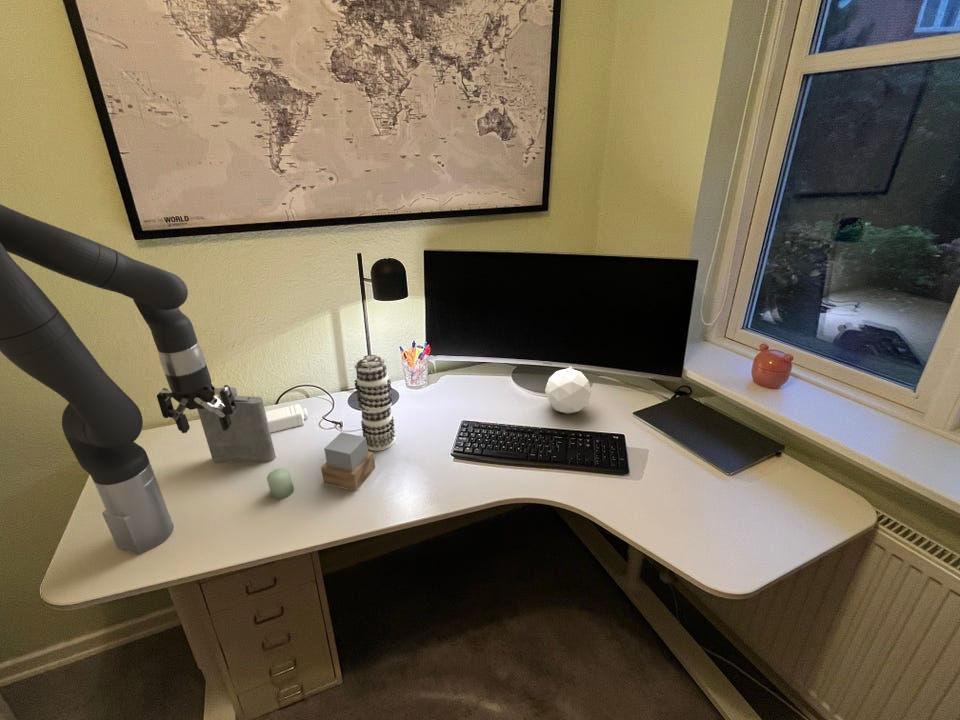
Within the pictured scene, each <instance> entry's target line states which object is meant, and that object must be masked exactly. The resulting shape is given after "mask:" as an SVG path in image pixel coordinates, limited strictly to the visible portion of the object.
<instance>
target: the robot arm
mask: <svg viewBox="0 0 960 720" xmlns="http://www.w3.org/2000/svg"><path fill="white" fill-rule="evenodd" d="M9 253H10V254H11V255H15V256H17V257H19V258H21V259H24V260H25V261H26V260H27V261H28V262H31V263H33V264H35V265H37V266H40V267H41V268H45V269H47V270H49V271H51V272H54V273H57V274H59V275H60V276H61V275H62V276H64V277H67V278H69V279H73V280H76V281H78V282H81V283H84V284H87V285H88V286H89V285H90V286H92V287H96V288H98V289H101V290H106V291H110V292H113V293H117V294H120V295H123V296H125V297H128V298H130V299H132V301H133V303H134V304H135V306H136V308H137V310H138V311H139V313H140V315H141V316H142V319H143V320H144V321H145V323H146V324H147V326H148V328H149V330H150V332H151V336H152V339H153V342H154V343H155V346H156V350H157V353H158V357H159V358H158V359H159V362H160V365H161V367H162V371H163V373H164V376H165V378H166V381H167V384H168V387H169V389H170V390H169V389H168V388H165V387H163V388H162V389H161V390H160V391H159V393H158V394H157V395H156V399H157V401H158V405H159V408H160V412H161V415H162V417H163V418H165V419H168V418H172V420H174V421H175V424H176V426H177V429H178V431H180V432H181V433H182V434H187V433H188V431H189V430H190V424H189V421H188V419H187V415H186V414H185V413H184V412H185V411H186V409H188V410H189V411H190V410H197V409H205V408H206V409H208V410H209V411H210V412H214V413H216V414H217V415H218V416H220V417H219V420H220V423H221V426H222V429H223V431H227V430H228V428H229V427H230V426H231V423H232V422H231V419H230V416H229V414H232V413H233V412H234V410H235V409H236V407H237V405H236V403H235V400H234V397H233V395H232V392H231V389H230V386H229V385H228V384H224V385H223V387H215V386H214V385H213V384H212V378H211V375H210V370H209V369H208V364H207V362H206V357H205V356H204V353H203V350H202V347H201V346H200V344H199V341H198V338H197V335H196V332H195V328H194V326H193V324H192V321H191V319H190V318H189V317H188V316H187V315H186V314H184V313H183V312H182V311H181V309H180V307H181V306H182V305H184V304H185V303H186V301H187V299H188V297H189V296H188V295H189V291H188V286H187V284H186V282H185V281H184V280H183V279H182V278H181V277H180V276H178V275H177V274H175V273H172V272H170V271H168V270H165V269H162V268H159V267H157V266H154V265H152V264H148V263H146V262H143V261H140V260H137V259H134V258H132V257H130V256H127V255H126V254H124V253H122V252H121V251H118V250H115V249H114V248H111V247H109V246H106V245H104V244H102V243H99V242H97V241H94V240H92V239H90V238H88V237H84V236H82V235H79V234H77V233H74V232H71V231H69V230H66V229H63V228H61V227H57V226H55V225H53V224H50V223H47V222H44V221H41V220H39V219H36V218H33V217H32V216H29V215H26V214H24V213H21V212H19V211H17V210H15V209H12V208H10V207H8V206H5V205H3V204H1V203H0V352H1V354H2V355H4V356H5V357H6V359H8V360H9V361H10V362H11V363H12V364H13V365H14V366H16V367H17V368H18V369H20V370H21V371H23V372H24V373H26V374H27V375H29V376H30V377H32V378H33V379H34V380H36V381H38V382H39V383H41V384H43V385H44V386H46V387H47V388H49V389H51V391H53V392H55V393H57V394H58V395H60V396H61V398H63V399H64V400H65V401H66V402H68V404H67V405H66V407H65V408H64V410H63V412H62V416H61V428H62V431H63V435H64V436H65V439H66V441H67V443H68V446H70V449H71V450H72V453H73V454H74V457H75V458H76V460H77V462H78V464H79V465H80V467H81V468H82V469H83V470H84V471H85V472H87V473H88V475H89V476H90V478H91V479H92V482H93V483H94V485H95V488H96V490H97V492H98V495H99V497H100V499H101V502H102V505H103V506H104V508H105V510H103V511H102V513H101V515H102V516H103V519H104V521H105V523H106V525H107V527H108V529H109V532H110V534H111V537H112V539H113V541H114V544H115V545H116V547H117V548H118V549H120V550H123V551H125V552H126V551H127V552H129V553H132V554H135V555H142V553H143V552H146V551H147V550H150V549H153V548H154V547H156V546H158V545H160V544H162V543H163V542H165V540H166V539H168V538H169V537H170V536H171V535H172V533H173V530H174V523H173V520H172V517H171V515H170V512H169V509H168V507H167V504H166V502H165V500H164V496H163V494H162V491H161V489H160V486H159V483H158V481H157V478H156V475H155V472H154V470H153V467H152V464H151V462H150V459H149V456H148V453H147V451H146V450H145V448H143V447H142V446H141V445H139V444H138V443H137V442H135V441H136V440H137V439H138V438H139V437H140V434H141V433H142V429H143V424H144V422H143V415H142V412H141V410H140V408H139V406H138V405H137V404H136V403H135V402H134V400H132V398H131V397H130V396H129V395H128V394H127V393H126V392H125V391H124V390H123V389H122V388H121V387H120V385H118V384H117V383H116V382H115V381H114V380H113V379H112V378H111V377H110V375H108V373H107V372H106V371H105V370H104V368H103V367H102V366H101V365H100V363H98V361H97V359H96V358H95V357H94V356H93V354H92V353H91V352H90V350H89V349H88V347H86V345H85V344H84V342H83V341H82V340H81V339H80V338H79V336H78V335H77V334H76V332H75V331H74V329H73V328H72V326H71V324H70V323H69V322H68V320H67V319H66V318H65V317H64V316H63V314H62V313H61V311H60V310H59V309H58V308H57V307H56V304H55V303H53V302H52V300H51V299H50V298H49V297H48V296H47V295H46V293H45V292H44V291H43V290H42V288H40V287H39V285H37V283H36V282H35V281H34V280H33V278H31V276H29V275H28V273H27V272H25V271H24V269H23V268H21V267H20V265H19V264H18V263H17V262H16V261H15V260H14V259H13V258H12V256H11V255H10V254H9ZM217 397H219V398H220V399H222V401H223V403H222V402H221V400H220V399H219V398H217ZM172 398H173V399H174V401H176V402H177V403H179V404H178V405H177V407H176V409H174V406H173V405H174V404H173V402H172ZM211 401H212V402H213V403H214V404H213V405H212V404H210V403H211Z"/></svg>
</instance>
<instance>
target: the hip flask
mask: <svg viewBox="0 0 960 720" xmlns="http://www.w3.org/2000/svg"><path fill="white" fill-rule="evenodd" d="M229 387H230V386H229ZM230 389H231V392H232V395H233V397H234V400H235V403H236V405H237V407H236V409H235V410H234V412H233V413H232V414H229V416H230V419H231V422H232V423H231V426H230V427H229V428H228V430H227V431H223V429H222V426H221V423H220V420H219V417H220V416H218V415H217V414H216V413H214V412H210V411H209V410H208V409H206V408H205V409H196V410H197V413H198V416H199V419H200V420H199V421H200V423H201V426H202V428H203V432H204V436H205V439H206V441H207V442H206V443H207V445H208V446H207V447H208V449H209V450H208V451H209V452H210V455H211V459H212V463H214V464H220V463H228V462H262V463H263V462H264V463H269V462H272V461H274V460H276V458H277V456H276V453H275V448H274V444H273V440H272V435H271V433H270V430H269V425H268V421H267V417H266V413H265V412H266V410H265V405H264V400H263V398H262V396H261V397H260V396H252V395H251V396H250V395H249V396H248V395H237V393H238V391H237V389H236V387H233V386H232V387H230ZM216 397H217V398H219V396H216ZM219 399H220V398H219ZM220 400H221V402H222V403H223V401H222V399H220ZM210 404H212V405H213V404H214V403H213V402H212V401H211V403H210Z"/></svg>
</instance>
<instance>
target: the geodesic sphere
mask: <svg viewBox="0 0 960 720" xmlns="http://www.w3.org/2000/svg"><path fill="white" fill-rule="evenodd" d="M544 393H545V395H546V398H547V401H548V403H549V404H550V406H551V407H552V408H553V409H554V410H555V411H556V412H559V413H563V414H567V415H568V414H573V413H576V412H579V411H581V410H583V409H584V408H585V407H586V406H587V405H588V404H589V402H590V401H589V400H590V398H591V394H592V389H591V385H590V381H589V379H587V377H586V376H585V375H584V373H583V372H582V371H579V370H576V369H575V368H573V366H572V365H568V368H565V369H560V370H557V371H555V372H554V373H553V374H552V375H551V376H549V378H548V381H547V383H546V386H545V390H544Z"/></svg>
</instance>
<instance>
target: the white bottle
mask: <svg viewBox="0 0 960 720" xmlns="http://www.w3.org/2000/svg"><path fill="white" fill-rule="evenodd" d="M265 413H266V417H267V421H268V425H269V430H270V434H271V433H275V432H276V433H277V432H279V431H283V430H287V429H291V428H296V427H300V426H303V425H305V420H306V419H308V417H309V416H308V410H307V409H306V408H305V407H304V408H302V407H301V405H300V404H299V403H296V404H293V405H289V406H285V407H279V408H275V409H271V410H265Z"/></svg>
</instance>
